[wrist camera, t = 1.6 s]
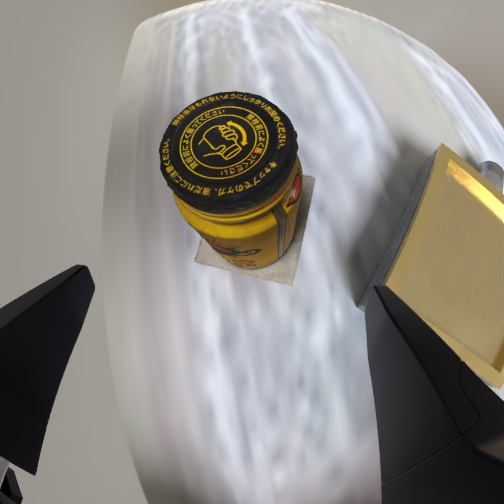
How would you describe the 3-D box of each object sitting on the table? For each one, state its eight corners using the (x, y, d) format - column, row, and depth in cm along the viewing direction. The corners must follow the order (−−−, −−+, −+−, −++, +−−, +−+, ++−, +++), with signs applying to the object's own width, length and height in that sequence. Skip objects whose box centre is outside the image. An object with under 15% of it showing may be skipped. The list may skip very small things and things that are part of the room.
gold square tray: (473, 381, 17) (500, 388, 13) (356, 306, 19) (374, 305, 16) (523, 217, 19) (546, 205, 15) (431, 137, 22) (449, 114, 18)
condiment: (195, 262, 21) (110, 206, 9) (226, 162, 23) (188, 49, 11) (292, 286, 20) (315, 251, 9) (314, 179, 22) (343, 66, 10)
